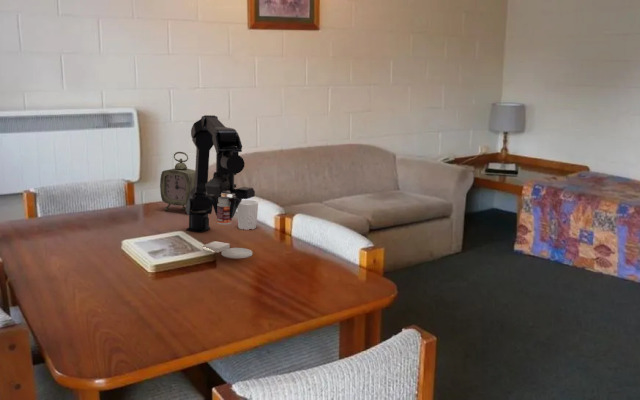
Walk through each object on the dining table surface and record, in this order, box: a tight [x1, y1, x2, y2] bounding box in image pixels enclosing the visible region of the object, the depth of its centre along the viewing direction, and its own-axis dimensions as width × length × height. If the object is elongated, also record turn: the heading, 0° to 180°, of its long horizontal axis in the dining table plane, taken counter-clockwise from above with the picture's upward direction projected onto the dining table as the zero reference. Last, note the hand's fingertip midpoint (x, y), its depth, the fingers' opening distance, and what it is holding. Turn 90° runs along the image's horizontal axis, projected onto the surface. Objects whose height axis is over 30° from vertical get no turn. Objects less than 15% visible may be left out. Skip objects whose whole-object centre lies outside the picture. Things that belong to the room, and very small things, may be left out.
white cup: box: [236, 199, 259, 231], centre depth 230 cm, size 8×8×10 cm
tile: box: [202, 240, 231, 253], centre depth 202 cm, size 6×2×7 cm
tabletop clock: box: [159, 151, 195, 212], centre depth 250 cm, size 14×9×25 cm, turn 68°
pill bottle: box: [216, 196, 233, 226], centre depth 194 cm, size 5×5×8 cm
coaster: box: [221, 247, 253, 259], centre depth 197 cm, size 10×10×1 cm
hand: (224, 216), depth 195 cm, fingers closed on pill bottle, 5 cm apart
